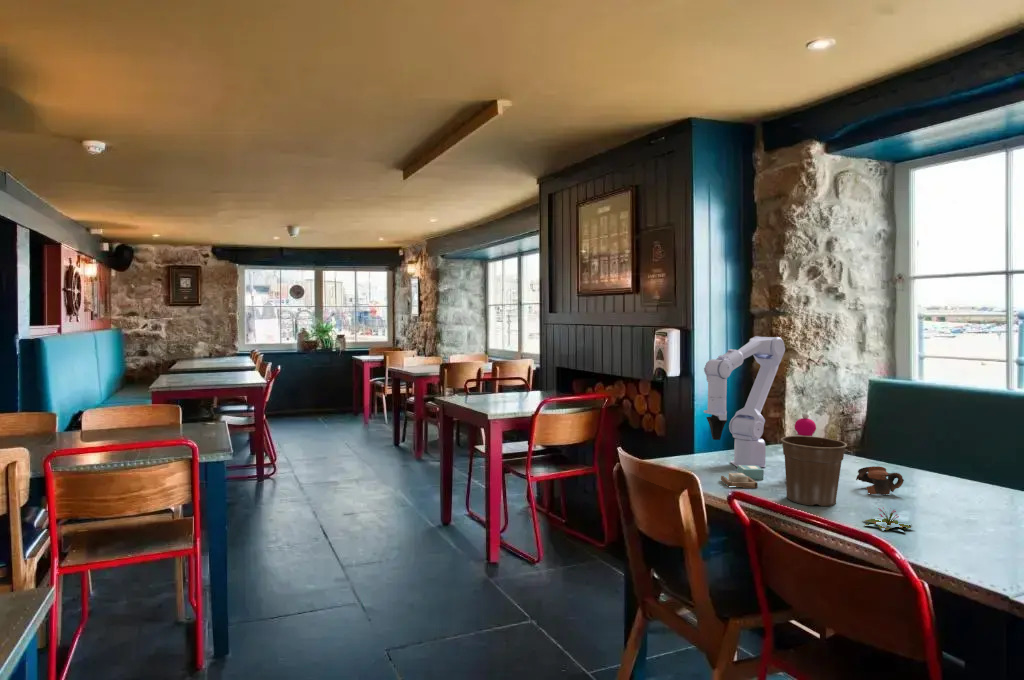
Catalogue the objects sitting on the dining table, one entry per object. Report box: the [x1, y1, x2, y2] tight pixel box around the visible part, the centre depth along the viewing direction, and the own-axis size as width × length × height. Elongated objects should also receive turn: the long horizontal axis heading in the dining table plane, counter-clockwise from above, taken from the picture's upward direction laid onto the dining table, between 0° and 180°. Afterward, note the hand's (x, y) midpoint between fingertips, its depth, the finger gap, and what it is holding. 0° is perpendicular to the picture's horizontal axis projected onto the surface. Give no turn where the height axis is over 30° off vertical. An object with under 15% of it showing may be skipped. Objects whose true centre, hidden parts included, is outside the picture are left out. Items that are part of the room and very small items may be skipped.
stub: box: [728, 472, 748, 482], centre depth 203 cm, size 4×5×3 cm
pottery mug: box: [855, 465, 905, 496], centre depth 195 cm, size 12×10×8 cm
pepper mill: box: [794, 412, 817, 437], centre depth 210 cm, size 7×7×20 cm
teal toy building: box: [736, 465, 765, 481], centre depth 211 cm, size 6×6×3 cm
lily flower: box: [863, 507, 912, 531], centre depth 163 cm, size 12×12×5 cm
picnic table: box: [720, 475, 759, 489], centre depth 202 cm, size 8×8×2 cm
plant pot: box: [780, 435, 848, 507], centre depth 185 cm, size 16×16×16 cm
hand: (716, 439), depth 220 cm, fingers closed
